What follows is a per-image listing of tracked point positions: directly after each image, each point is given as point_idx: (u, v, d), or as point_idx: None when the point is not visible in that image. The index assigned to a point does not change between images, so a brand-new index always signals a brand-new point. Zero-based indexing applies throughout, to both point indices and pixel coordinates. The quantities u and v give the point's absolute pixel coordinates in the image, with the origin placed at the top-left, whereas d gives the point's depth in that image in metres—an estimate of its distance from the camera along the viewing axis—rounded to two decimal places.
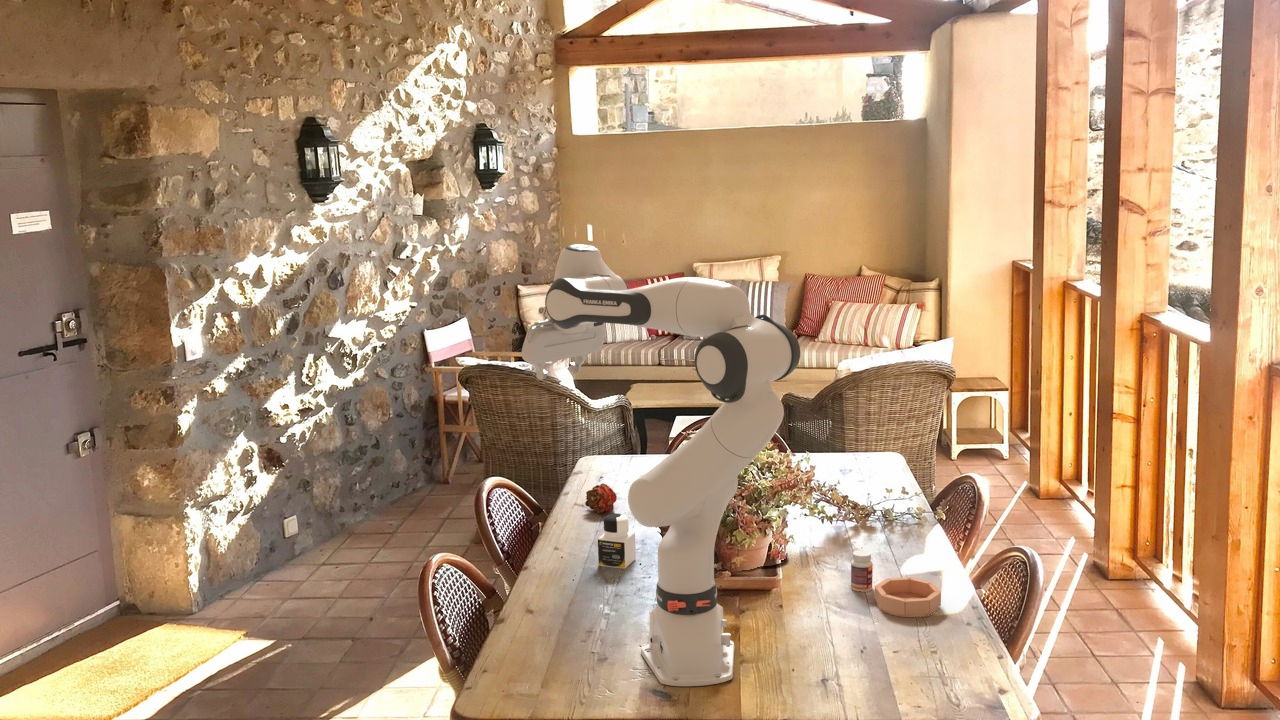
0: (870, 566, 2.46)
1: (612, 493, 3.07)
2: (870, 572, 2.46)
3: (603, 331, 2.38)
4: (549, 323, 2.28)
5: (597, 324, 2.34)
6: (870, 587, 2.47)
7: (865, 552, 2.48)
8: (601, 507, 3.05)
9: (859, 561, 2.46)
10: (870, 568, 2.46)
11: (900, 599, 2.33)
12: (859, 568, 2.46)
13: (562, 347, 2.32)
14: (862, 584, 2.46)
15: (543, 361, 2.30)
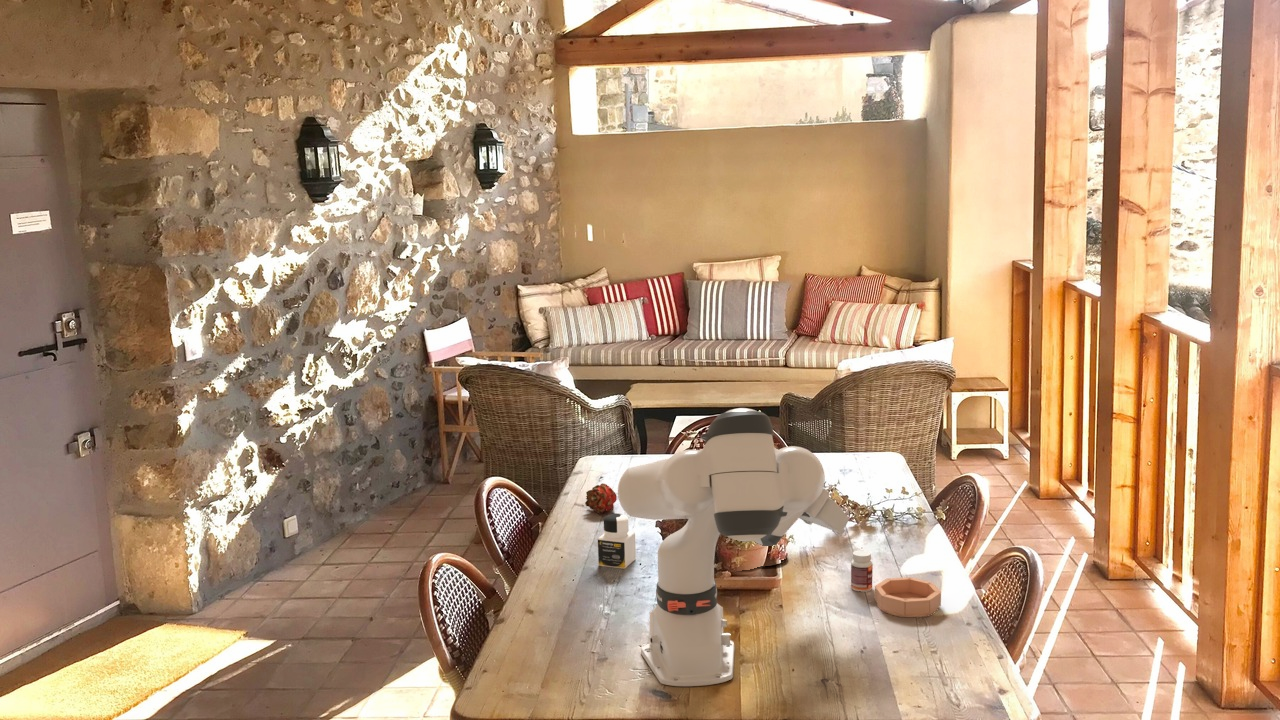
0: (870, 566, 2.46)
1: (612, 493, 3.07)
2: (870, 572, 2.46)
3: (822, 521, 2.26)
4: None
5: (803, 514, 2.27)
6: (870, 587, 2.47)
7: (865, 552, 2.48)
8: (601, 507, 3.05)
9: (859, 561, 2.46)
10: (870, 568, 2.46)
11: (900, 599, 2.33)
12: (859, 568, 2.46)
13: None
14: (862, 584, 2.46)
15: None
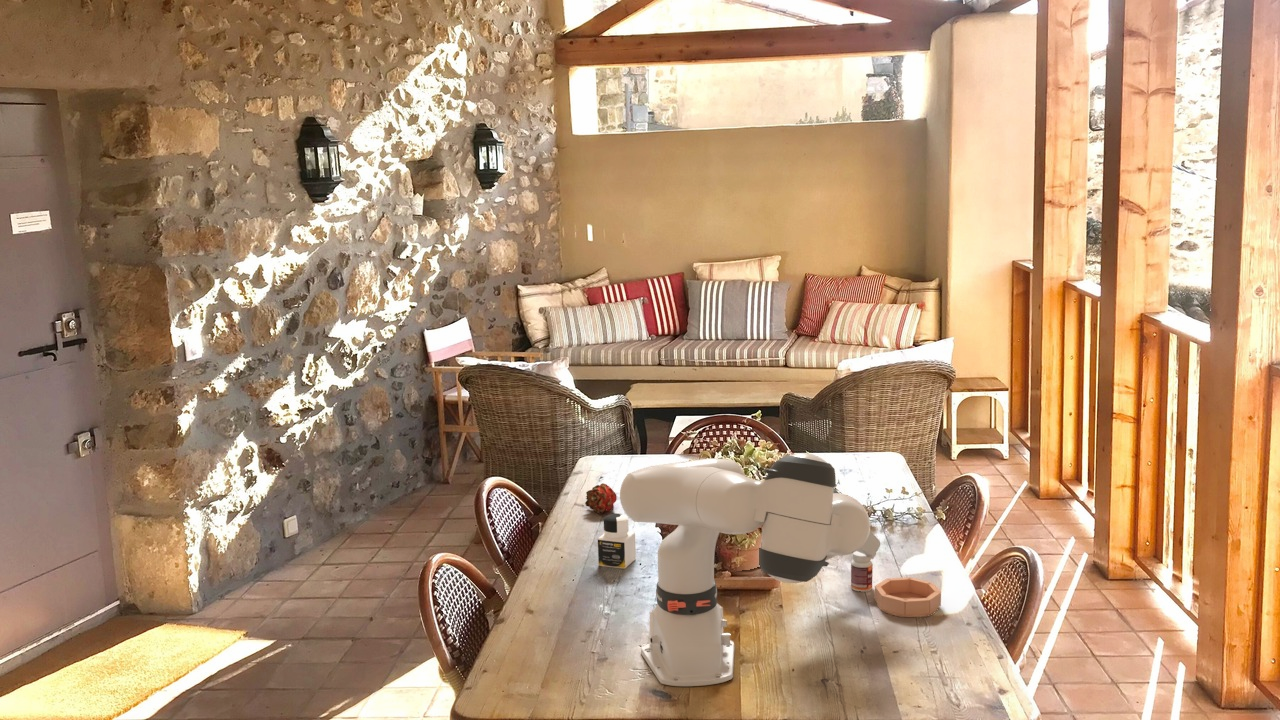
0: (870, 566, 2.46)
1: (612, 493, 3.07)
2: (870, 572, 2.46)
3: None
4: None
5: None
6: (870, 587, 2.47)
7: None
8: (601, 507, 3.05)
9: (859, 561, 2.46)
10: (870, 568, 2.46)
11: (900, 599, 2.33)
12: (859, 568, 2.46)
13: None
14: (862, 584, 2.46)
15: None
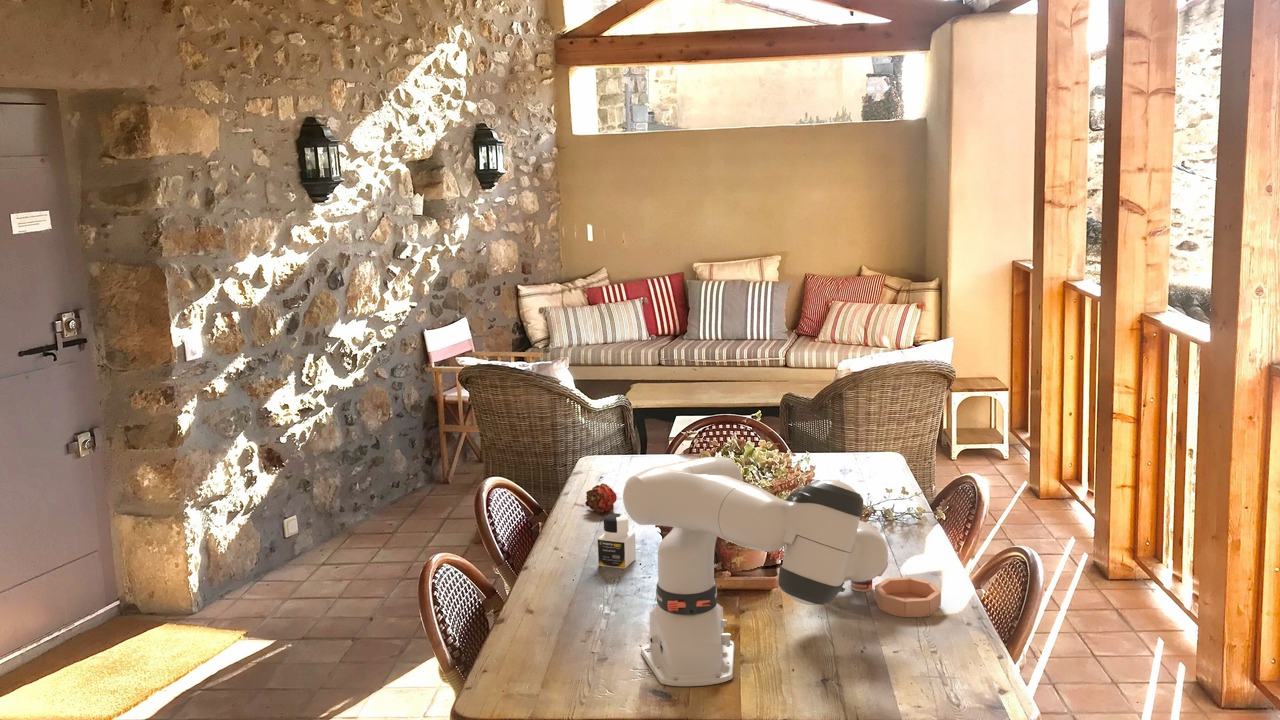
0: None
1: (612, 493, 3.07)
2: None
3: None
4: None
5: None
6: (870, 587, 2.47)
7: None
8: (601, 507, 3.05)
9: None
10: None
11: (900, 599, 2.33)
12: None
13: None
14: (862, 584, 2.46)
15: None
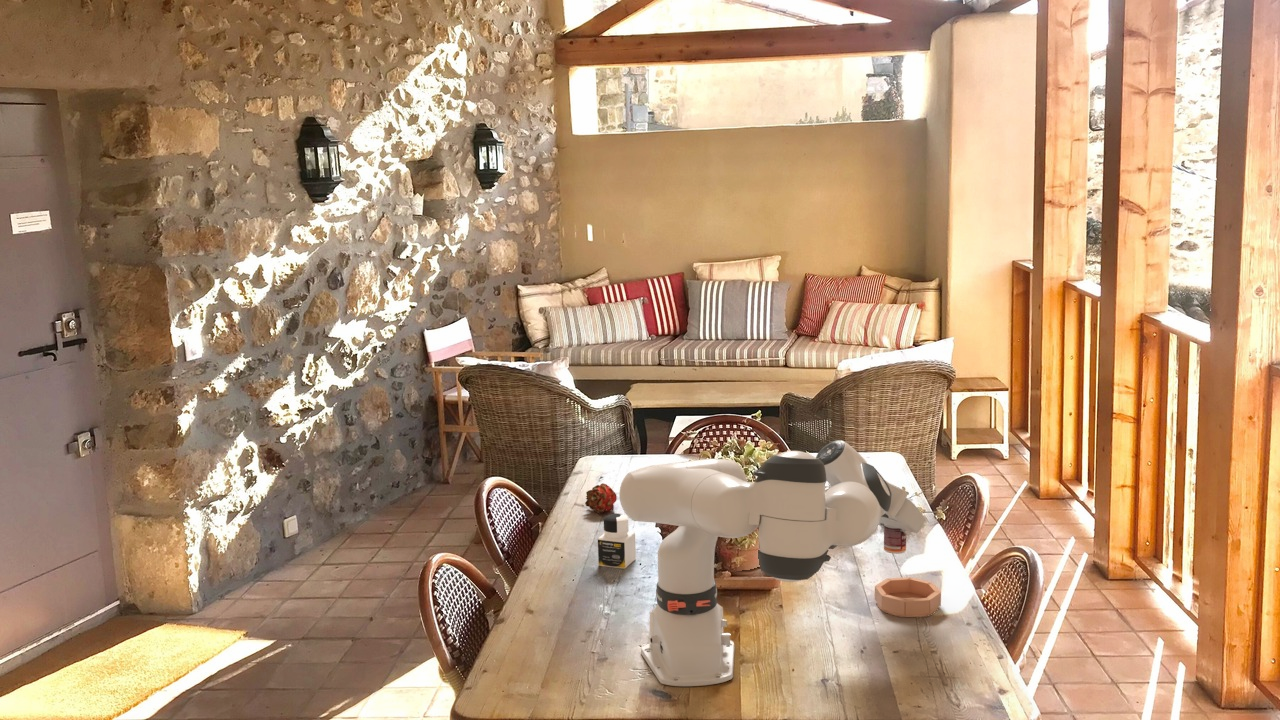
0: None
1: (612, 493, 3.07)
2: None
3: (901, 522, 2.27)
4: None
5: (881, 515, 2.28)
6: (904, 549, 2.38)
7: None
8: (601, 507, 3.05)
9: None
10: None
11: (900, 599, 2.33)
12: (893, 529, 2.37)
13: None
14: (896, 546, 2.37)
15: None
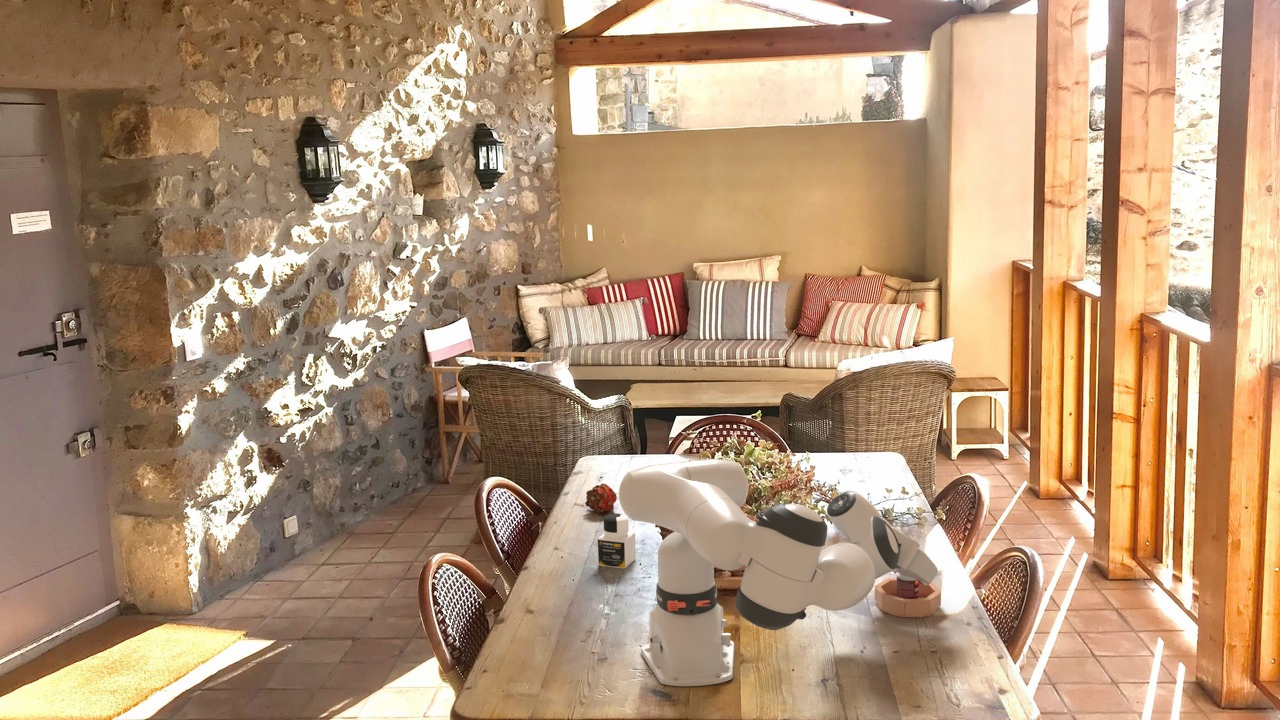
0: None
1: (612, 493, 3.07)
2: (916, 585, 2.36)
3: (913, 573, 2.25)
4: None
5: None
6: None
7: None
8: (601, 507, 3.05)
9: None
10: (917, 581, 2.36)
11: (900, 599, 2.33)
12: (905, 581, 2.35)
13: None
14: (909, 598, 2.36)
15: None
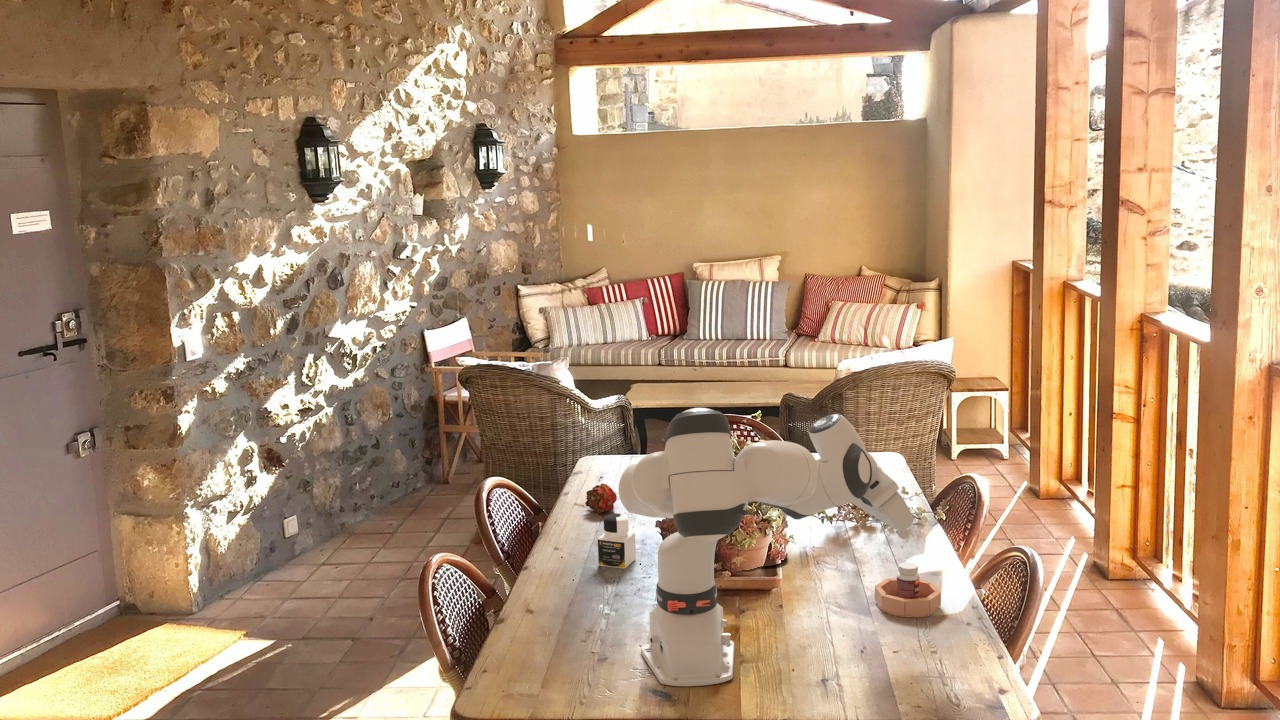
0: (917, 579, 2.36)
1: (612, 493, 3.07)
2: (917, 585, 2.36)
3: (884, 514, 2.13)
4: None
5: (866, 503, 2.15)
6: None
7: (911, 564, 2.38)
8: (601, 507, 3.05)
9: (906, 574, 2.36)
10: (917, 581, 2.36)
11: (900, 599, 2.33)
12: (905, 581, 2.35)
13: (862, 503, 2.24)
14: (909, 598, 2.36)
15: (856, 505, 2.29)
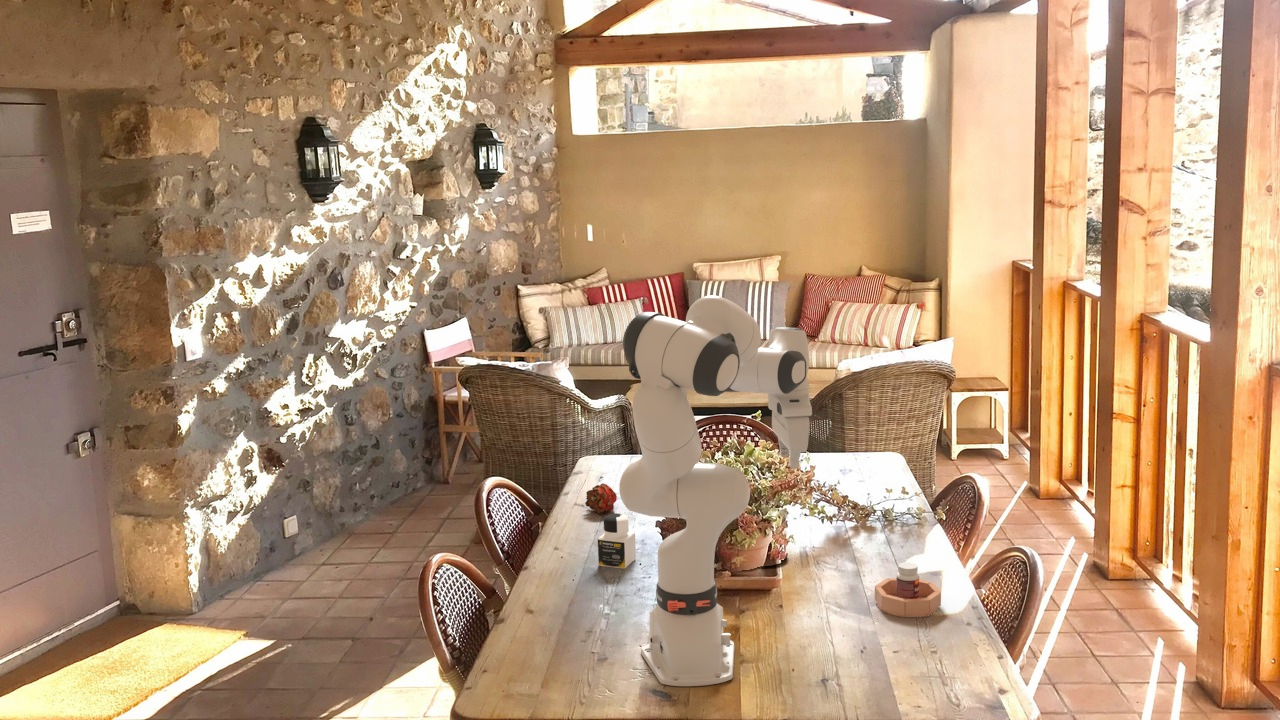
0: (917, 579, 2.36)
1: (612, 493, 3.07)
2: (916, 585, 2.36)
3: (786, 426, 2.30)
4: None
5: (779, 412, 2.32)
6: None
7: (911, 564, 2.38)
8: (601, 507, 3.05)
9: (905, 574, 2.36)
10: (917, 581, 2.36)
11: (900, 599, 2.33)
12: (905, 581, 2.35)
13: (778, 425, 2.41)
14: (909, 598, 2.36)
15: (774, 432, 2.45)
